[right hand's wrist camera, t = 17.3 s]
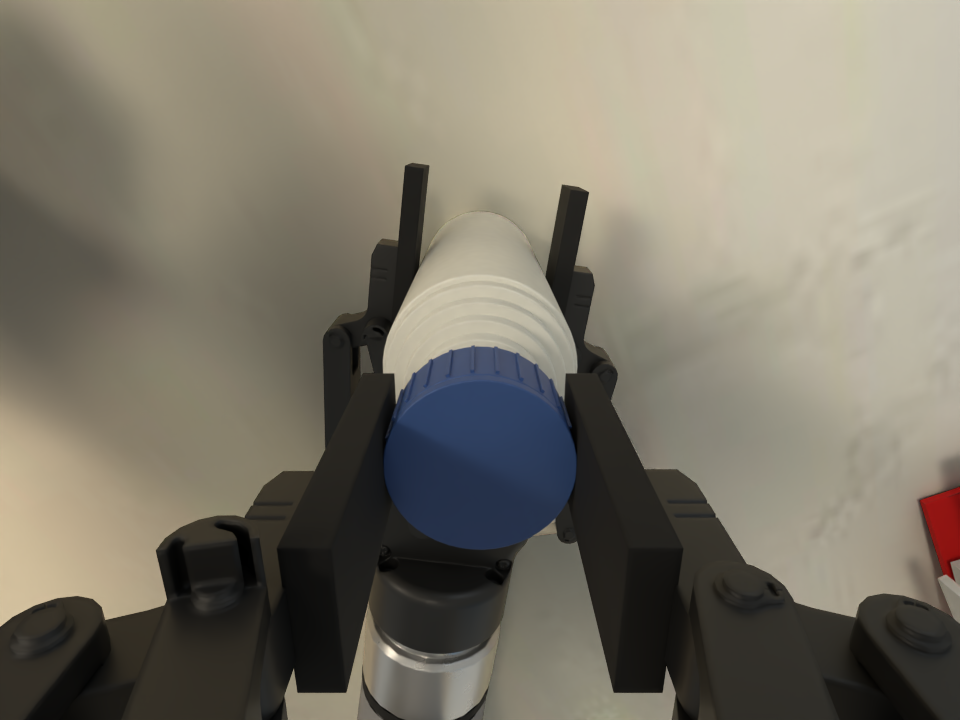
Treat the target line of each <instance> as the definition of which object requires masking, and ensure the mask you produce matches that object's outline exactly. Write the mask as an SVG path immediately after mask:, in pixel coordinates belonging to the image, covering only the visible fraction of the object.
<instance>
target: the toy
mask: <svg viewBox="0 0 960 720" xmlns="http://www.w3.org/2000/svg"><path fill="white" fill-rule="evenodd" d="M920 503H921V506H922V509H923V513H924V516H925V519H926V522H927V525H928V528H929V531H930V534H931V537H932V540H933V544H934V547H935V550H936V553H937V556H938V559H939V562H940V565H941V568H942V571H943V576H941V577H939V578H938V581H939V583H940V586H941V588H942V591H943V593H944V596H945V598H946V601H947V603H948V606H949V608H950V611H951V613H952V616H953V618H954V619H955V620H956V621H957V622H958V623H960V487H958V488H955V489H952V490H949V491H946V492H943V493H940V494H937V495H934V496H931V497H928V498H925V499H922V500H920Z"/></svg>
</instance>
